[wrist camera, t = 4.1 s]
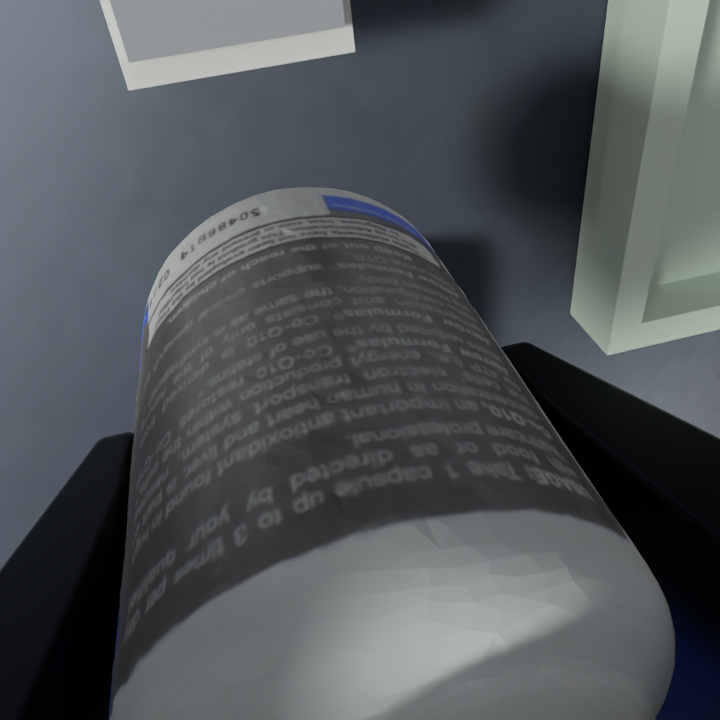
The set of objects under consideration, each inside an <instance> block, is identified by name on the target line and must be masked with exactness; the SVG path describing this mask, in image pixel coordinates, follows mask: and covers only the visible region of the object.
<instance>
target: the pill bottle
mask: <svg viewBox="0 0 720 720" xmlns="http://www.w3.org/2000/svg"><path fill="white" fill-rule="evenodd" d="M674 666H675V632H674V627H673V622H672V618H671V614H670V609H669V606H668V604H667V601H666V599H665V596H664V594H663V592H662V590H661V588H660V586H659V584H658V582H657V580H656V579H655V577H654V575H653V574H652V572H651V570H650V569H649V567H648V565H647V564H646V562H645V561H644V559H643V558H642V556H641V555H640V553H639V552H638V550H637V549H636V547H635V545H634V544H633V542H632V541H631V540H630V538H629V537H628V535H627V534H626V532H625V531H624V530H623V528H622V527H621V525H620V524H619V522H618V521H617V520H616V518H615V517H614V515H613V514H612V512H611V511H610V510H609V508H608V507H607V505H606V504H605V502H604V501H603V499H602V498H601V496H600V495H599V493H598V492H597V491H596V489H595V488H594V486H593V485H592V483H591V482H590V480H589V479H588V477H587V476H586V474H585V473H584V471H583V470H582V468H581V467H580V465H579V464H578V463H577V461H576V460H575V458H574V457H573V455H572V454H571V452H570V451H569V449H568V448H567V446H566V445H565V443H564V442H563V440H562V439H561V437H560V436H559V434H558V433H557V431H556V430H555V428H554V427H553V425H552V424H551V422H550V421H549V419H548V418H547V416H546V415H545V413H544V412H543V410H542V409H541V407H540V406H539V404H538V403H537V401H536V400H535V398H534V397H533V395H532V394H531V392H530V391H529V389H528V388H527V386H526V385H525V383H524V382H523V380H522V379H521V377H520V376H519V374H518V372H517V371H516V369H515V368H514V366H513V365H512V363H511V362H510V360H509V359H508V358H507V356H506V355H505V353H504V352H503V350H502V349H501V348H500V346H499V345H498V344H497V342H496V340H495V339H494V337H493V336H492V334H491V333H490V331H489V330H488V328H487V327H486V325H485V324H484V322H483V321H482V319H481V318H480V316H479V315H478V313H477V312H476V311H475V309H474V308H473V307H472V305H471V304H470V303H469V301H468V300H467V298H466V295H465V294H464V292H463V291H462V290H461V288H460V287H459V286H458V285H457V284H456V282H455V281H454V279H453V278H452V276H451V275H450V273H449V272H448V270H447V269H446V267H445V266H444V264H443V263H442V262H441V260H440V259H439V257H438V256H437V254H436V253H435V251H434V250H433V248H432V247H431V245H430V244H429V242H428V241H427V240H426V239H425V238H424V237H423V236H422V235H421V234H420V233H419V232H418V230H417V229H416V228H415V227H414V226H413V225H412V224H411V223H410V222H409V221H407V220H406V219H405V218H404V217H402V216H401V215H399V214H398V213H396V212H395V211H393V210H392V209H390V208H388V207H387V206H385V205H383V204H381V203H379V202H377V201H374V200H372V199H370V198H368V197H365V196H362V195H358V194H356V193H353V192H349V191H343V190H338V189H331V188H312V187H299V188H288V189H278V190H272V191H269V192H265V193H261V194H257V195H255V196H252V197H250V198H247V199H244V200H242V201H239V202H237V203H235V204H233V205H231V206H229V207H228V208H226V209H224V210H222V211H220V212H219V213H217V214H215V215H213V216H211V217H210V218H208V219H207V220H206V221H205V222H203V223H202V224H201V225H199V226H198V227H197V228H196V229H194V230H193V231H192V232H191V233H190V234H189V235H188V236H187V237H186V238H185V239H184V240H183V241H182V242H181V243H180V244H179V245H178V246H177V247H176V248H175V249H174V251H173V252H172V253H171V254H170V255H169V257H168V258H167V259H166V261H165V263H164V265H163V266H162V268H161V270H160V272H159V274H158V276H157V278H156V281H155V283H154V285H153V288H152V290H151V293H150V295H149V298H148V302H147V307H146V312H145V317H144V323H143V330H142V339H141V356H140V366H139V384H138V392H137V400H136V421H135V433H134V442H133V447H132V463H131V469H130V487H129V500H128V518H127V534H126V544H125V557H124V563H123V575H122V582H121V589H120V607H119V617H118V626H117V637H116V647H115V659H114V663H113V669H112V685H111V697H110V708H109V720H654V719H655V718H656V716H657V715H658V713H659V711H660V709H661V707H662V705H663V703H664V701H665V698H666V695H667V692H668V689H669V686H670V683H671V679H672V675H673V671H674Z"/></svg>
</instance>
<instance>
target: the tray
mask: <svg viewBox="0 0 720 720" xmlns="http://www.w3.org/2000/svg"><path fill="white" fill-rule="evenodd" d="M570 314H571V315H572V316H573V317H574V319H575V320H576V321H577V322H578V323H579V324H580V325H581V326H582V328H583V329H584V330H585V331H586V332H587V333H588V334H589V335H590V337H591V338H592V339H593V340H594V341H595V342H596V343H597V344H598V346H599V347H600V348H601V349H602V350H603V351H604V352H605V353H606V355H611V354H616V353H620V352H624V351H629V350H633V349H637V348H641V347H646V346H650V345H654V344H659V343H663V342H667V341H672V340H676V339H680V338H684V337H689V336H693V335H697V334H702V333H706V332H710V331H714V330H719V329H720V0H608V6H607V15H606V23H605V31H604V39H603V47H602V56H601V64H600V72H599V80H598V88H597V97H596V105H595V113H594V121H593V129H592V138H591V146H590V154H589V162H588V170H587V178H586V187H585V195H584V203H583V211H582V219H581V228H580V236H579V244H578V252H577V260H576V269H575V277H574V285H573V293H572V301H571V310H570Z"/></svg>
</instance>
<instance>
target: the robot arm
mask: <svg viewBox="0 0 720 720" xmlns="http://www.w3.org/2000/svg"><path fill="white" fill-rule="evenodd" d="M501 349H502V350H503V352H504V353H505V355H506V356H507V358H508V359H509V360H510V362H511V363H512V365H513V366H514V368H515V369H516V371H517V372H518V374H519V376H520V377H521V379H522V380H523V382H524V383H525V385H526V386H527V388H528V389H529V391H530V392H531V394H532V395H533V397H534V398H535V400H536V401H537V403H538V404H539V406H540V407H541V409H542V410H543V412H544V413H545V415H546V416H547V418H548V419H549V421H550V422H551V424H552V425H553V427H554V428H555V430H556V431H557V433H558V434H559V436H560V437H561V439H562V440H563V442H564V443H565V445H566V446H567V448H568V449H569V451H570V452H571V454H572V455H573V457H574V458H575V460H576V461H577V463H578V464H579V465H580V467H581V468H582V470H583V471H584V473H585V474H586V476H587V477H588V479H589V480H590V482H591V483H592V485H593V486H594V488H595V489H596V491H597V492H598V493H599V495H600V496H601V498H602V499H603V501H604V502H605V504H606V505H607V507H608V508H609V510H610V511H611V512H612V514H613V515H614V517H615V518H616V520H617V521H618V522H619V524H620V525H621V527H622V528H623V530H624V531H625V532H626V534H627V535H628V537H629V538H630V540H631V541H632V542H633V544H634V545H635V547H636V549H637V550H638V552H639V553H640V555H641V556H642V558H643V559H644V561H645V562H646V564H647V565H648V567H649V569H650V570H651V572H652V574H653V575H654V577H655V579H656V580H657V582H658V584H659V586H660V588H661V590H662V592H663V594H664V596H665V599H666V601H667V604H668V606H669V609H670V614H671V618H672V622H673V627H674V632H675V666H674V671H673V675H672V679H671V683H670V686H669V689H668V692H667V695H666V698H665V701H664V703H663V705H662V707H661V709H660V711H659V713H658V715H657V716H656V718H655V720H720V438H718V437H716V436H714V435H712V434H710V433H708V432H706V431H704V430H702V429H700V428H698V427H696V426H694V425H692V424H690V423H688V422H686V421H684V420H682V419H680V418H678V417H676V416H674V415H672V414H670V413H668V412H666V411H664V410H662V409H660V408H658V407H656V406H654V405H652V404H650V403H648V402H646V401H644V400H642V399H640V398H638V397H636V396H634V395H632V394H630V393H628V392H626V391H624V390H622V389H620V388H618V387H616V386H614V385H612V384H610V383H608V382H606V381H604V380H602V379H600V378H598V377H596V376H594V375H592V374H590V373H588V372H586V371H584V370H582V369H580V368H578V367H576V366H574V365H572V364H570V363H568V362H566V361H564V360H562V359H560V358H558V357H556V356H554V355H552V354H550V353H548V352H546V351H544V350H542V349H540V348H538V347H536V346H534V345H532V344H530V343H526V342H521V343H517V344H513V345H508V346H504V347H501ZM133 442H134V433H131V432H126V433H122V434H117V435H113V436H109V437H105V438H102V439H100V440H99V441H98V442H97V443H96V444H95V446H94V447H93V448H92V450H91V451H90V452H89V454H88V455H87V456H86V457H85V459H84V460H83V461H82V463H81V464H80V465H79V467H78V468H77V469H76V471H75V472H74V473H73V475H72V476H71V477H70V479H69V480H68V481H67V483H66V484H65V485H64V487H63V488H62V489H61V491H60V492H59V493H58V495H57V496H56V497H55V499H54V500H53V501H52V502H51V504H50V505H49V506H48V508H47V509H46V510H45V512H44V513H43V514H42V516H41V517H40V518H39V520H38V521H37V522H36V524H35V525H34V526H33V528H32V529H31V530H30V532H29V533H28V534H27V536H26V537H25V538H24V540H23V541H22V542H21V544H20V545H19V546H18V547H17V549H16V550H15V551H14V553H13V554H12V555H11V557H10V558H9V559H8V561H7V562H6V563H5V565H4V566H3V567H2V569H1V570H0V720H109V708H110V697H111V685H112V669H113V663H114V659H115V647H116V637H117V626H118V617H119V607H120V589H121V582H122V575H123V563H124V557H125V544H126V534H127V518H128V500H129V487H130V469H131V463H132V447H133Z"/></svg>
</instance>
